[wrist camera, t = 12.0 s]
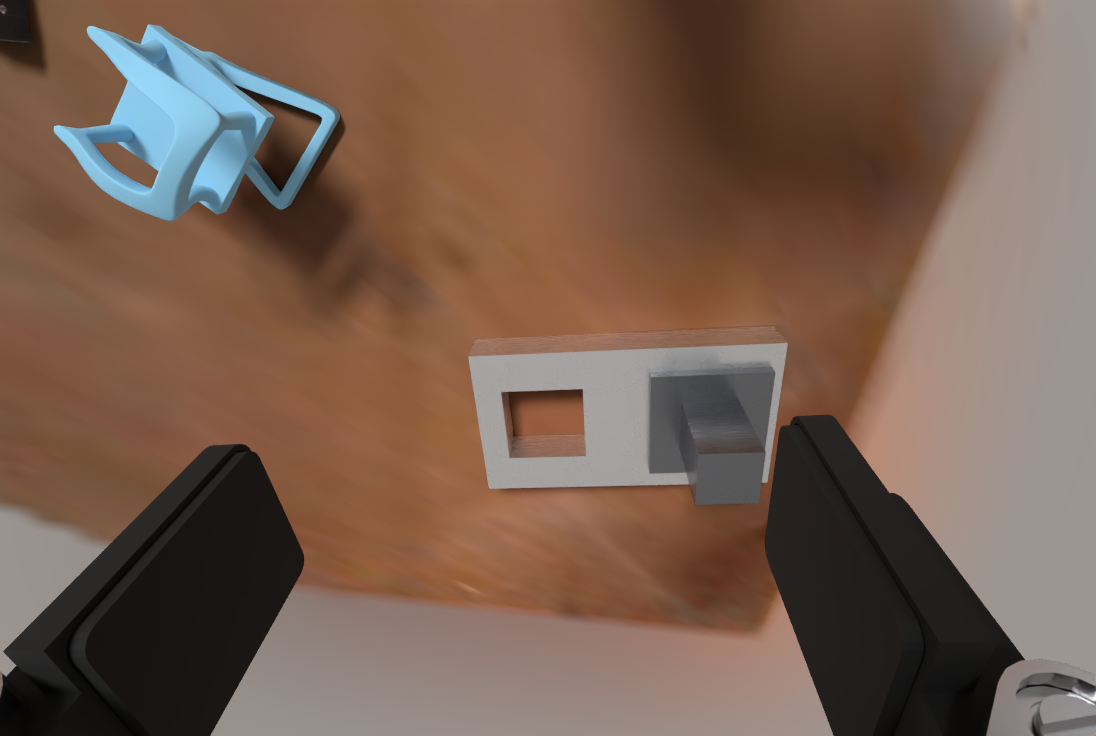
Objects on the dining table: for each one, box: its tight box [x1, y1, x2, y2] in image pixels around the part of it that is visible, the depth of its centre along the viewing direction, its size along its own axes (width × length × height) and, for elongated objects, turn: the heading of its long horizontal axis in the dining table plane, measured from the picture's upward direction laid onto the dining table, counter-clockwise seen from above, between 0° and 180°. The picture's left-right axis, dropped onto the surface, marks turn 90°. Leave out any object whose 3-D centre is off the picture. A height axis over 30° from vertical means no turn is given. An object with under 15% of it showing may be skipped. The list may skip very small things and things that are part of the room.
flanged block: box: [648, 367, 775, 505], centre depth 37 cm, size 8×8×9 cm
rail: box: [468, 326, 788, 489], centre depth 41 cm, size 12×22×3 cm, turn 94°
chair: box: [54, 24, 340, 221], centre depth 29 cm, size 8×8×12 cm
